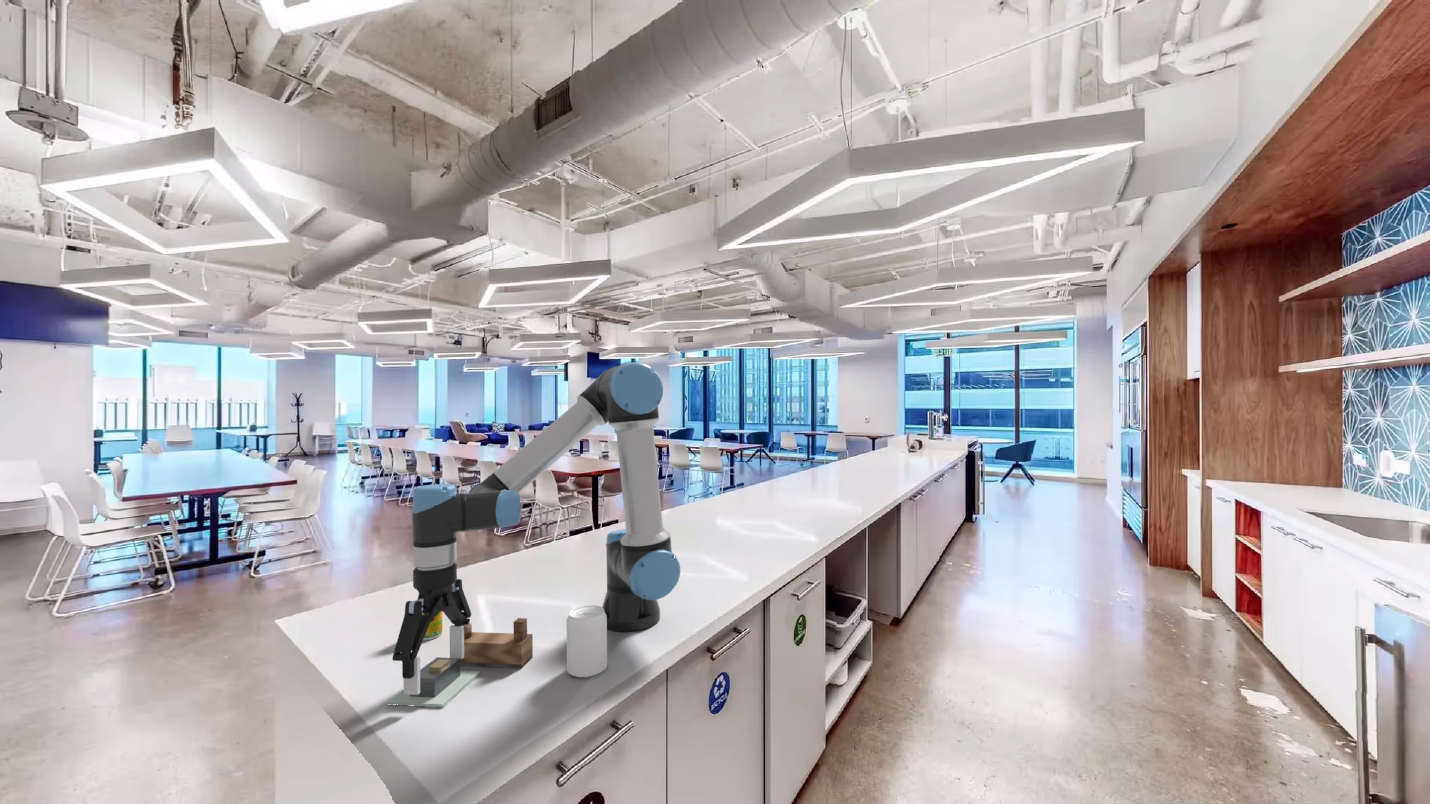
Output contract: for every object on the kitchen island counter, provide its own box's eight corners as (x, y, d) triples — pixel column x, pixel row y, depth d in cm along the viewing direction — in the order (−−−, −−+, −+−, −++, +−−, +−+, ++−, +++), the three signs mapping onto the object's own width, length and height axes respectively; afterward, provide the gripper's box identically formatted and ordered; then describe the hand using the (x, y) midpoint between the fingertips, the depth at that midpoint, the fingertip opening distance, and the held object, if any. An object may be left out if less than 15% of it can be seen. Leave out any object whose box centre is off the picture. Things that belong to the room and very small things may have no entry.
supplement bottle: (431, 642, 122) (431, 600, 122) (411, 640, 123) (411, 599, 123) (447, 632, 127) (447, 592, 127) (428, 630, 128) (428, 591, 128)
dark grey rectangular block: (460, 675, 104) (460, 654, 104) (434, 697, 96) (434, 674, 97) (437, 674, 105) (437, 653, 105) (409, 696, 97) (409, 673, 97)
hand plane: (532, 657, 113) (532, 615, 113) (521, 668, 108) (521, 625, 108) (463, 654, 115) (463, 613, 115) (449, 665, 110) (449, 623, 110)
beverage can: (586, 684, 102) (586, 622, 102) (558, 673, 106) (557, 614, 106) (615, 666, 109) (614, 608, 109) (587, 657, 113) (587, 601, 113)
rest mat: (479, 674, 106) (479, 671, 106) (443, 707, 94) (443, 704, 94) (429, 672, 107) (429, 669, 107) (386, 705, 95) (386, 701, 95)
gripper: (455, 547, 114) (456, 644, 114) (368, 586, 89) (368, 710, 89) (488, 548, 113) (488, 646, 113) (408, 587, 88) (409, 712, 88)
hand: (436, 674), depth 101 cm, fingers open, 13 cm apart
